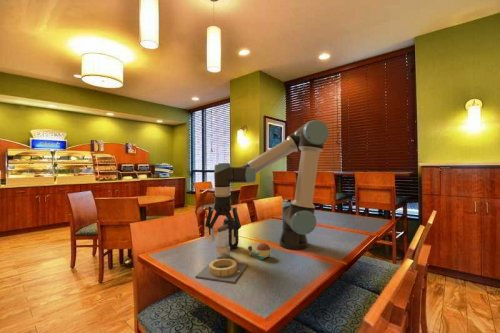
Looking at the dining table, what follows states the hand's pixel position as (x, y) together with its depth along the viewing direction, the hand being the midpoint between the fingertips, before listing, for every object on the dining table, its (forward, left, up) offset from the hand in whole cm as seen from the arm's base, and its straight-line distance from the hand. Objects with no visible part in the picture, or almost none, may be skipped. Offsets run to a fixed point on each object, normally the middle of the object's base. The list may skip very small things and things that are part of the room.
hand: (223, 242), depth 111 cm
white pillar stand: (0, 0, -7) cm, 7 cm away
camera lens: (+1, -13, -7) cm, 15 cm away
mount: (-6, +14, -7) cm, 17 cm away
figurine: (-17, -5, -7) cm, 19 cm away
